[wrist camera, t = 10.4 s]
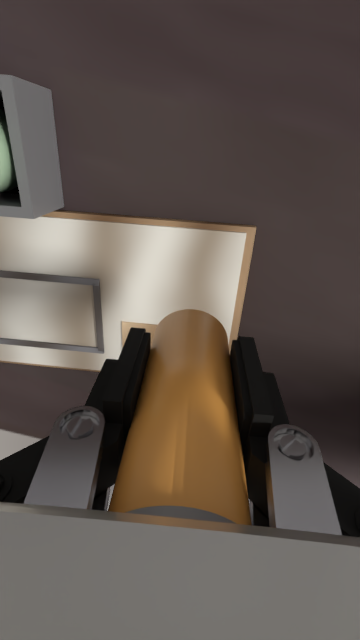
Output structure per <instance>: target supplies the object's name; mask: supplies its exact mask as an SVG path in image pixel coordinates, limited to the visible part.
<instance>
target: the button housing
mask: <svg viewBox="0 0 360 640" xmlns="http://www.w3.org/2000/svg"><path fill="white" fill-rule="evenodd" d="M0 99H3V103H4V108H5V114H6V120H7V125H8V131H9V137H10V143H11V148H12V154H13V160H14V166H15V171H16V177H17V183H18V189H19V194H11V193H0V216H2V217H14V218H27V219H36V218H38V217H40V216H43V215H45V214H48V213H50V212H53V211H55V210H58V209H60V208H63V207H64V201H63V192H62V183H61V174H60V165H59V156H58V148H57V139H56V130H55V121H54V112H53V103H52V94H51V90H50V89H47V88H45V87H42V86H39V85H36V84H34V83H31V82H28V81H26V80H23V79H20V78H17V77H15V76H12V75H0Z"/></svg>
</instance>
